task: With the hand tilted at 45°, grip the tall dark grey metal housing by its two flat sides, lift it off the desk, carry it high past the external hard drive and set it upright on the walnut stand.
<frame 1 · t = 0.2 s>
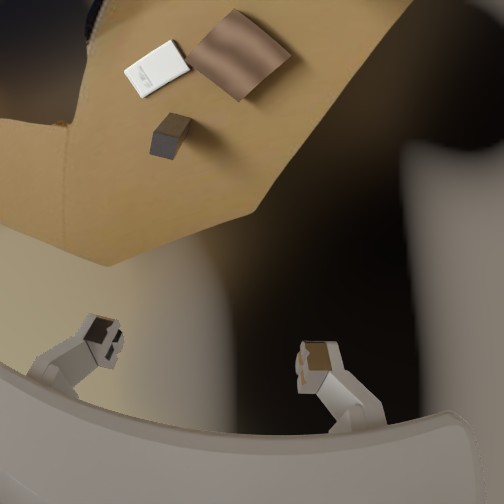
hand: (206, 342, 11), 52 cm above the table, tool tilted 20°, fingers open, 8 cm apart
stand: (238, 53, 42), on the table
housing: (178, 124, 54), on the table
external hard drive: (157, 68, 44), on the table
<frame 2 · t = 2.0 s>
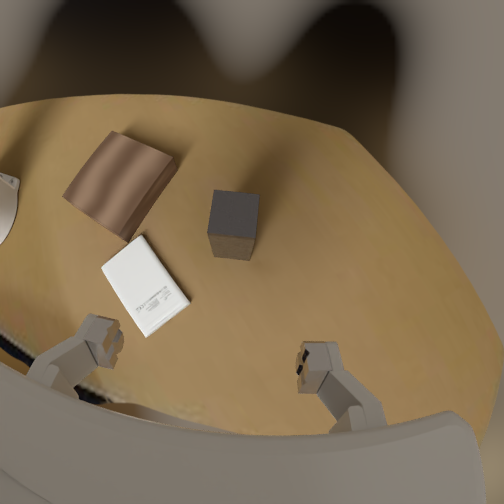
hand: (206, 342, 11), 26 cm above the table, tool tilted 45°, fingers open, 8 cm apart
stand: (121, 187, 40), on the table
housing: (233, 241, 39), on the table
external hard drive: (145, 286, 37), on the table
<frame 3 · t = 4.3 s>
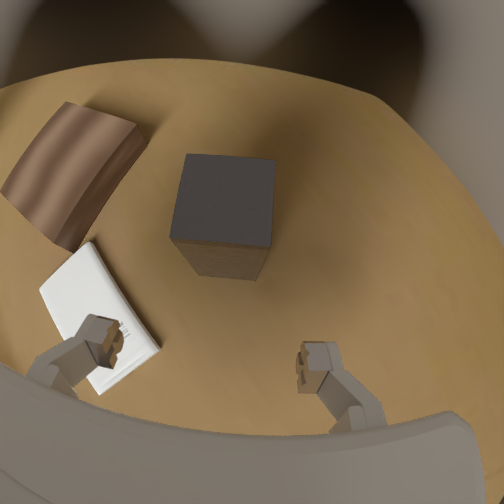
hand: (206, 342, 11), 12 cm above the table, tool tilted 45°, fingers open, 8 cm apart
stand: (72, 175, 26), on the table
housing: (229, 250, 24), on the table
external hard drive: (96, 318, 23), on the table
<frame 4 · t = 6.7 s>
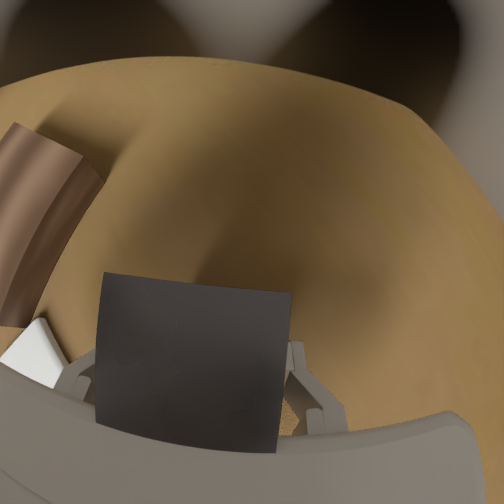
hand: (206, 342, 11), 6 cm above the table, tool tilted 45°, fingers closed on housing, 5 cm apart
stand: (21, 220, 18), on the table
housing: (216, 345, 17), on the table, touching gripper
external hard drive: (60, 405, 15), on the table
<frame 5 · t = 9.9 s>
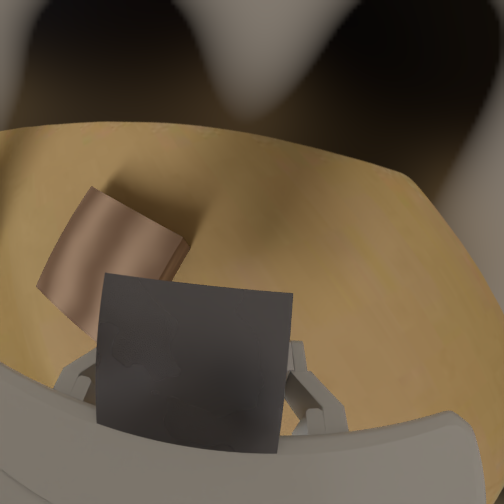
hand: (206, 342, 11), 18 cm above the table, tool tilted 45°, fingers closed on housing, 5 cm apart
stand: (113, 271, 29), on the table
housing: (216, 345, 17), point 12 cm above the table, touching gripper
when the fingers open (11 cm above the table, at t = 13.2 s): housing drops 1 cm, resting on stand.
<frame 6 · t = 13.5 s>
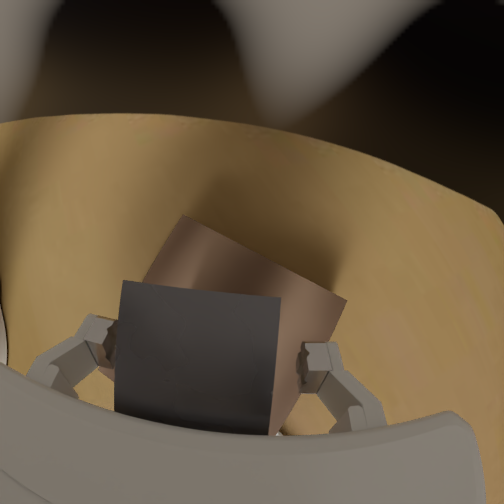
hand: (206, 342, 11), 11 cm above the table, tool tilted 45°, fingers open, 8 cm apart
stand: (221, 339, 22), on the table
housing: (217, 343, 18), point 4 cm above the table, touching stand
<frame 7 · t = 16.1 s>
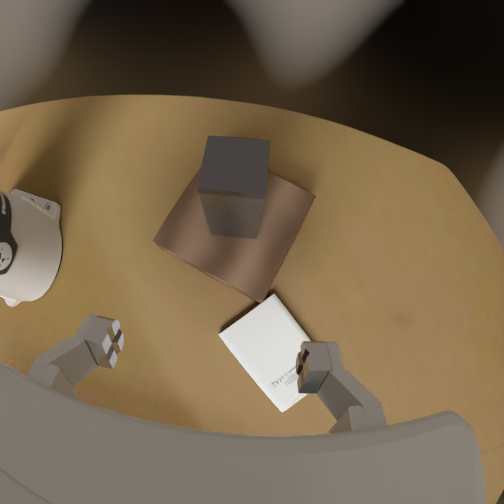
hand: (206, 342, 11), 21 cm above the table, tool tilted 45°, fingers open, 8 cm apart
stand: (236, 227, 34), on the table
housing: (235, 215, 31), point 4 cm above the table, touching stand
external hard drive: (276, 353, 31), on the table
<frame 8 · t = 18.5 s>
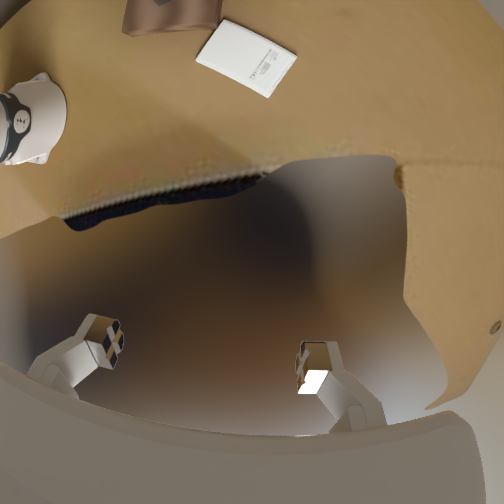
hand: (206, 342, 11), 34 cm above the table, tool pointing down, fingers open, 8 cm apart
external hard drive: (246, 58, 32), on the table
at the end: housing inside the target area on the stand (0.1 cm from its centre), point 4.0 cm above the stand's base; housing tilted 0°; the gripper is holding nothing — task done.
